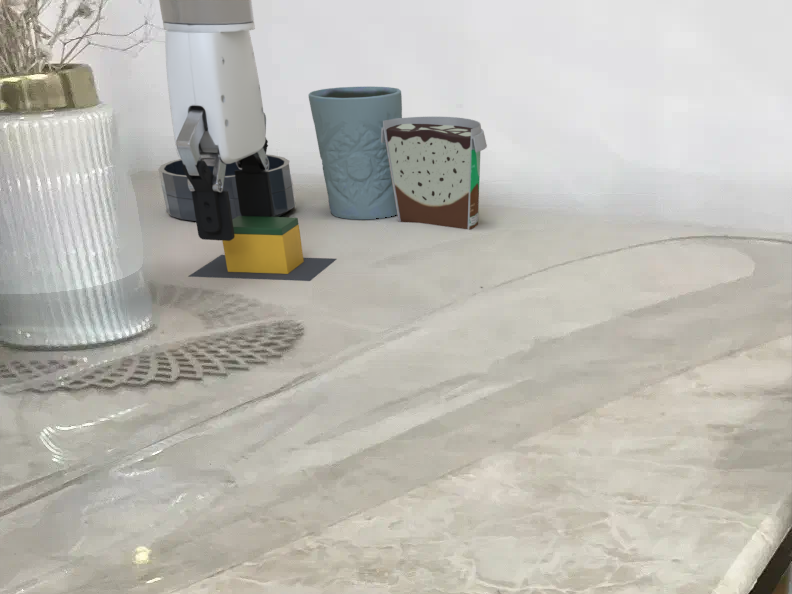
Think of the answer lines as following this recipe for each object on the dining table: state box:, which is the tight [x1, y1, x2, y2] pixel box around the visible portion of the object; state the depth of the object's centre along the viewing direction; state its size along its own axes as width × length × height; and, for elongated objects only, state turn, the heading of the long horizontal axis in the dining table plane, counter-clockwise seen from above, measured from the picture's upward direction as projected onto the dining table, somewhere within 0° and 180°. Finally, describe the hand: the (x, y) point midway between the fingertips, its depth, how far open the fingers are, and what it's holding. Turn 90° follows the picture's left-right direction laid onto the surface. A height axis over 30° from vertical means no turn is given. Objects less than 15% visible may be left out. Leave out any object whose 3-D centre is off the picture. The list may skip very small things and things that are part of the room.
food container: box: [381, 116, 488, 231], centre depth 122 cm, size 12×6×10 cm, turn 59°
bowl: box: [158, 153, 296, 222], centre depth 128 cm, size 14×14×5 cm
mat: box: [187, 254, 338, 282], centre depth 109 cm, size 12×8×1 cm, turn 81°
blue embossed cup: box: [308, 86, 403, 220], centre depth 127 cm, size 10×10×12 cm
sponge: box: [221, 216, 304, 274], centre depth 108 cm, size 6×4×4 cm
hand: (238, 227), depth 106 cm, fingers open, 9 cm apart
